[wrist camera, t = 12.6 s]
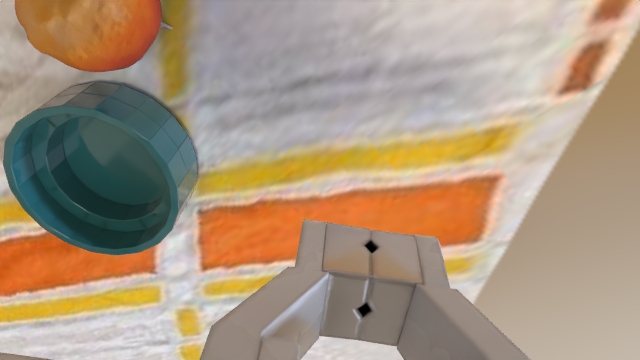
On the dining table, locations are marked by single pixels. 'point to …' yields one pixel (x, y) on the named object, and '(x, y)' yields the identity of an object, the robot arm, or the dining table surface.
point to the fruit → (92, 30)
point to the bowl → (102, 168)
